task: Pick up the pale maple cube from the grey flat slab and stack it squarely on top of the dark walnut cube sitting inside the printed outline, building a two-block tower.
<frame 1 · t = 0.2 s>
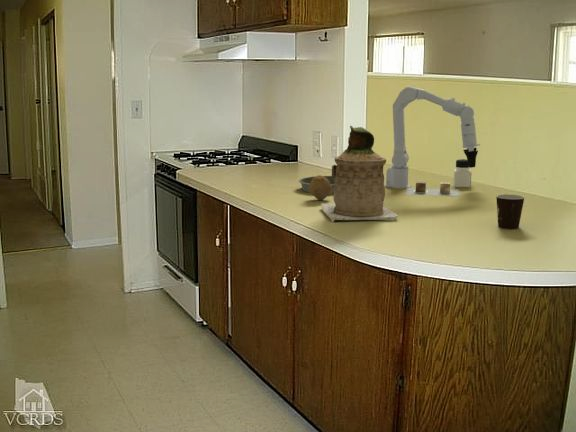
hand: (472, 166, 275), 10 cm above the worktop, tool pointing down, fingers open, 7 cm apart
walnut block: (420, 191, 273), resting on grey flat slab
grey flat slab: (432, 193, 272), on the worktop
medicine bottle: (461, 186, 287), on the worktop
maple block: (444, 192, 270), resting on grey flat slab
cookie jar: (357, 215, 232), on the worktop
cake pan: (326, 190, 283), on the worktop
coffee mug: (506, 228, 209), on the worktop
natural sponge: (319, 200, 260), on the worktop
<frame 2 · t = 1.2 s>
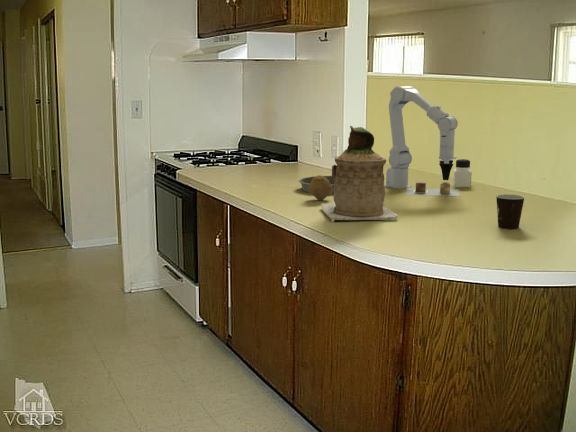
hand: (445, 178, 269), 6 cm above the worktop, tool pointing down, fingers open, 7 cm apart
nothing on the worktop moved.
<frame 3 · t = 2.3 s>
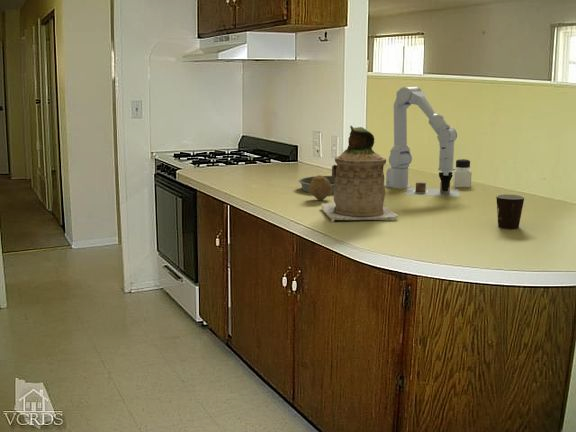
hand: (445, 190, 270), 1 cm above the worktop, tool pointing down, fingers closed on maple block, 4 cm apart
maple block: (444, 192, 270), resting on grey flat slab, touching gripper
everything else where it was.
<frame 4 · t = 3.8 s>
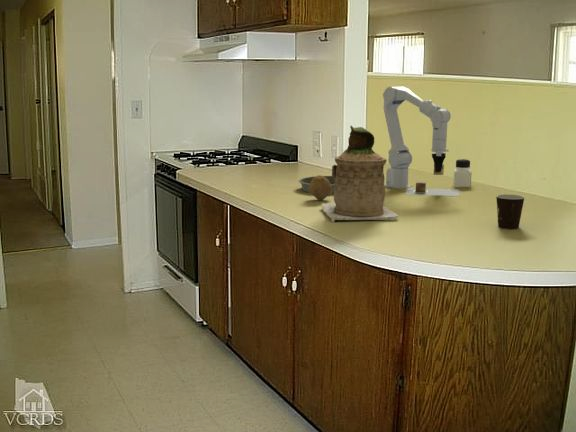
hand: (438, 171, 269), 9 cm above the worktop, tool pointing down, fingers closed on maple block, 4 cm apart
maple block: (438, 174, 270), point 8 cm above the worktop, touching gripper
everything else where it was.
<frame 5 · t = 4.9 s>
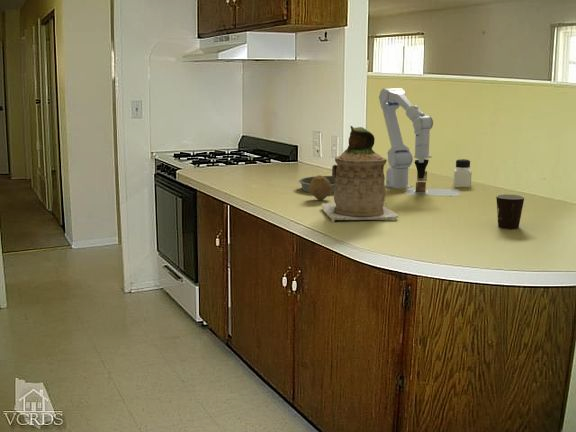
hand: (421, 177, 271), 6 cm above the worktop, tool pointing down, fingers closed on maple block, 4 cm apart
maple block: (422, 180, 272), point 5 cm above the worktop, touching gripper
everything else where it was.
when the fingers open (6 cm above the worktop, at t = 5.7 s): maple block stays where it is, resting on walnut block.
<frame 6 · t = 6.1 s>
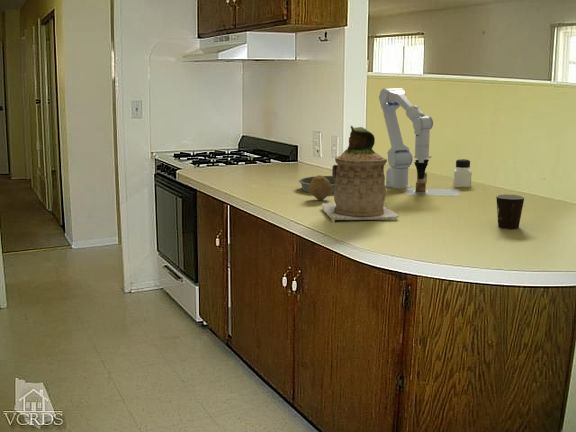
hand: (421, 177, 271), 6 cm above the worktop, tool pointing down, fingers open, 7 cm apart
walnut block: (420, 191, 273), resting on grey flat slab, touching maple block
maple block: (421, 182, 272), point 4 cm above the worktop, touching walnut block
everything else where it was.
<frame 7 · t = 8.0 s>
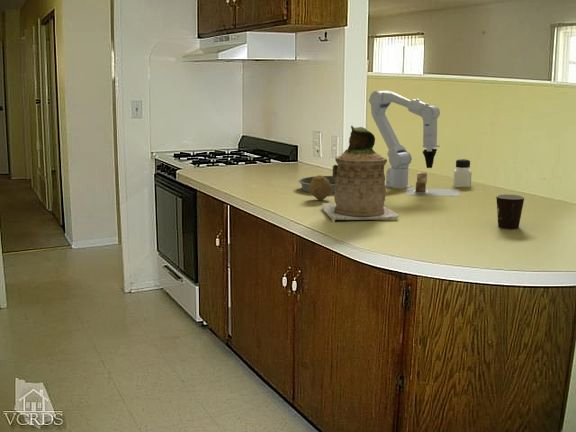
hand: (429, 166, 275), 10 cm above the worktop, tool pointing down, fingers open, 7 cm apart
nothing on the worktop moved.
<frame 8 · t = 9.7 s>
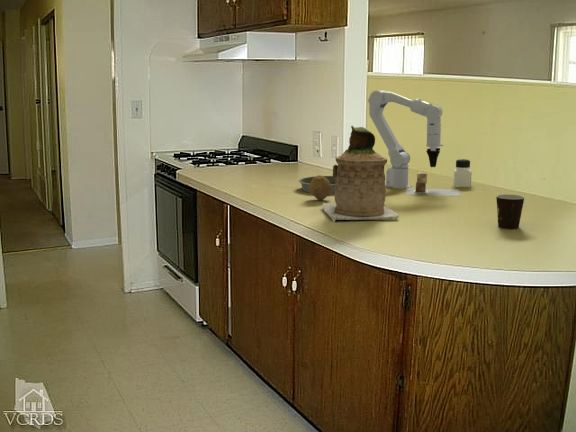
hand: (433, 165, 277), 10 cm above the worktop, tool pointing down, fingers open, 7 cm apart
nothing on the worktop moved.
at the end: maple block 0.4 cm off-centre on the walnut block, point 4.0 cm above the walnut block's base; maple block tilted 0°; walnut block moved 0.0 cm from its start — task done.
